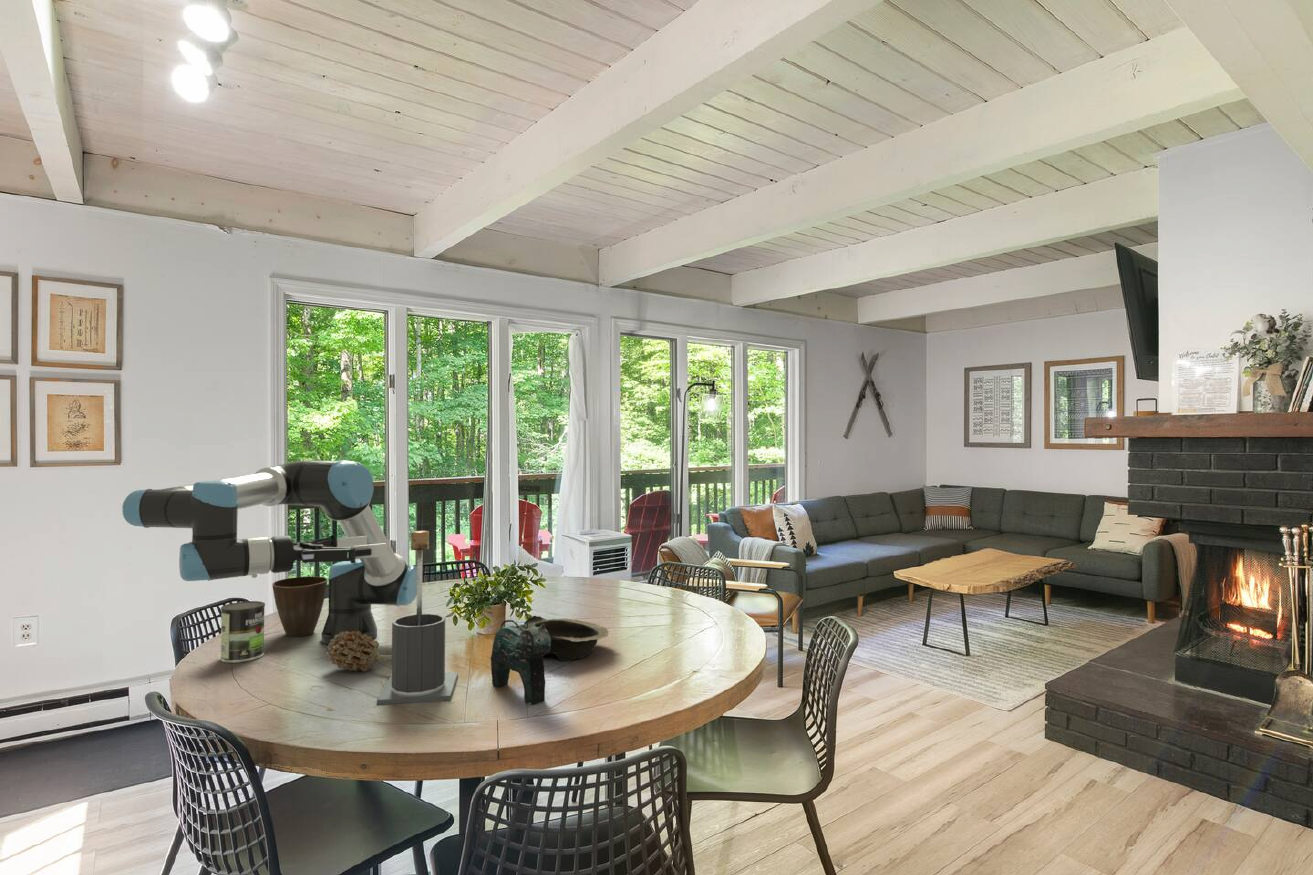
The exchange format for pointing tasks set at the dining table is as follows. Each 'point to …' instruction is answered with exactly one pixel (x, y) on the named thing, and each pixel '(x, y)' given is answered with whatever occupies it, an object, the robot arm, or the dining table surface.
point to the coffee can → (242, 631)
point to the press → (418, 662)
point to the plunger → (419, 565)
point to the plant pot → (299, 603)
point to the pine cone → (354, 651)
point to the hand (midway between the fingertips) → (375, 545)
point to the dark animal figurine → (521, 658)
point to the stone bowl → (570, 636)
